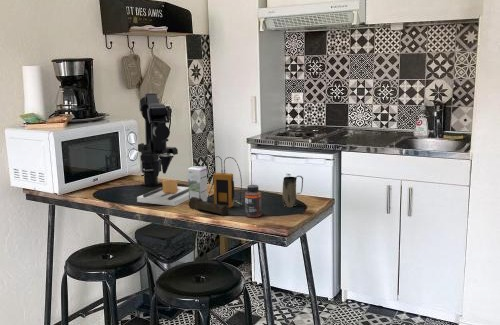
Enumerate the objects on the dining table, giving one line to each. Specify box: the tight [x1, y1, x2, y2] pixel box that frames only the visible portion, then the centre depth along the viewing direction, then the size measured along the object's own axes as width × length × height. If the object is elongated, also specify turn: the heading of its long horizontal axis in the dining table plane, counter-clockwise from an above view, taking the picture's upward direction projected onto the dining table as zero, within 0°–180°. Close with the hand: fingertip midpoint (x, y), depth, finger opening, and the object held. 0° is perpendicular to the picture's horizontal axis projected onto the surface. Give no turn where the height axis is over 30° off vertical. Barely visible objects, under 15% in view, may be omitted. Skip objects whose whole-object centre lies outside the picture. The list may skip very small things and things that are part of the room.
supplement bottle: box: [244, 184, 263, 218], centre depth 185 cm, size 6×6×11 cm
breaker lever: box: [161, 178, 178, 193], centre depth 213 cm, size 2×6×5 cm, turn 67°
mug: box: [282, 175, 304, 208], centre depth 198 cm, size 8×6×12 cm
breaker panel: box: [136, 185, 189, 207], centre depth 213 cm, size 22×18×3 cm
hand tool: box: [188, 197, 229, 217], centre depth 193 cm, size 19×4×5 cm, turn 50°
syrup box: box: [187, 165, 209, 202], centre depth 204 cm, size 6×6×14 cm
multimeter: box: [206, 155, 245, 208], centre depth 200 cm, size 15×10×20 cm
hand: (160, 174), depth 206 cm, fingers open, 5 cm apart
